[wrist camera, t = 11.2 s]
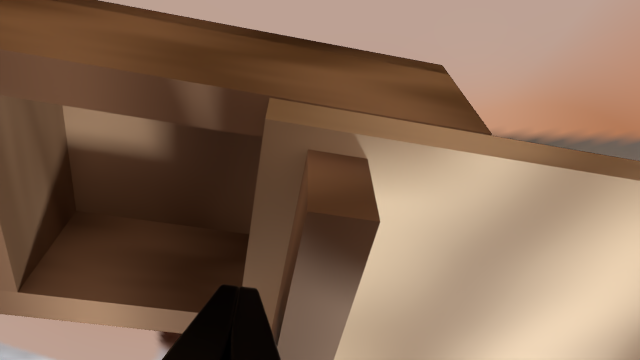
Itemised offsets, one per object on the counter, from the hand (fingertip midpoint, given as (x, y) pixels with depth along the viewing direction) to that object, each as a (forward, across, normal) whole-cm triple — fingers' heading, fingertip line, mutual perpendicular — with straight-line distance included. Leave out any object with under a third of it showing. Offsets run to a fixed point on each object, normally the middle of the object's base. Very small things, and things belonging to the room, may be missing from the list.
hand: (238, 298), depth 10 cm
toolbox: (+6, +1, 0) cm, 6 cm away
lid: (+2, -6, 0) cm, 6 cm away
